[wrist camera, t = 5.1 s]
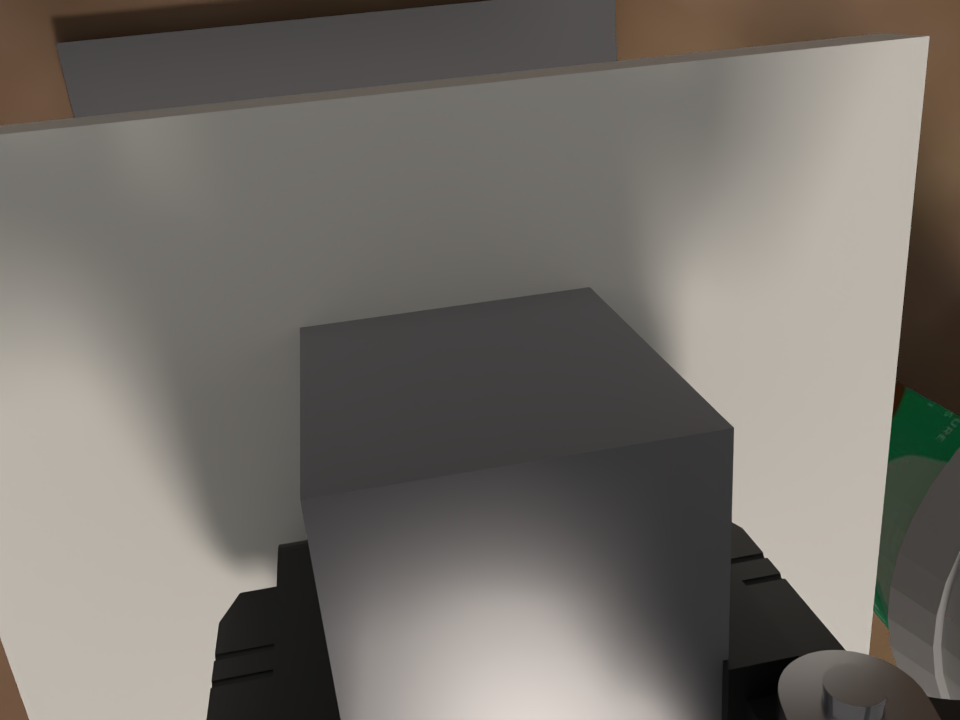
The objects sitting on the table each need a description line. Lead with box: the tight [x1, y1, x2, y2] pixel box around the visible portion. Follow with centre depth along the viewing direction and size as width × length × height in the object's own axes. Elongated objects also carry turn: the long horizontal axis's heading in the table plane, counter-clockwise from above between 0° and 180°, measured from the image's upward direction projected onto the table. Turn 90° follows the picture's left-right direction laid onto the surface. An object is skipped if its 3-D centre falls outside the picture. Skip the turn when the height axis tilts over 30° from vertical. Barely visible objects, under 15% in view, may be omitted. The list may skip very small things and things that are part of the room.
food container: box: [873, 381, 960, 700], centre depth 27 cm, size 12×6×10 cm, turn 46°
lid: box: [0, 34, 929, 720], centre depth 11 cm, size 12×12×5 cm
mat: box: [56, 0, 617, 118], centre depth 26 cm, size 14×14×1 cm
